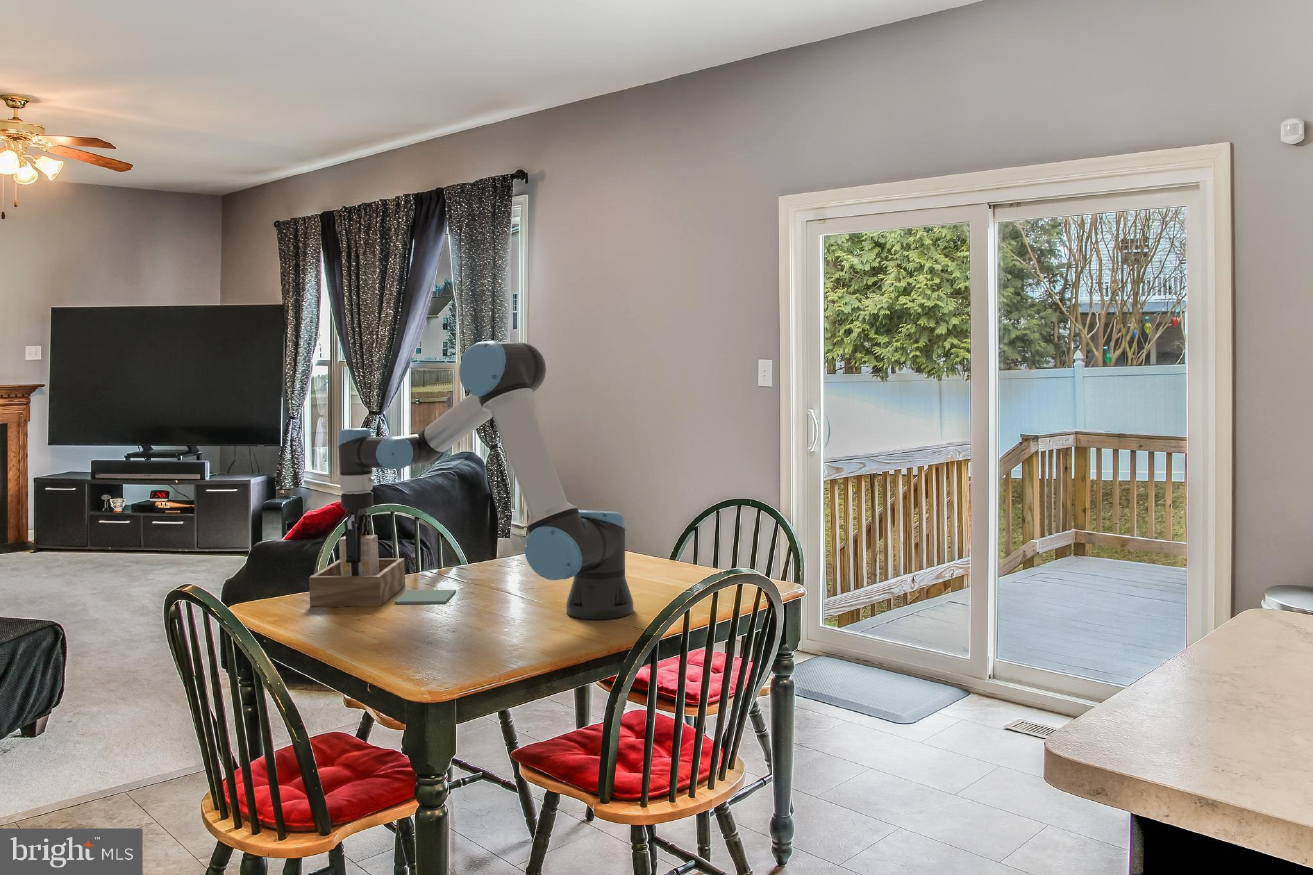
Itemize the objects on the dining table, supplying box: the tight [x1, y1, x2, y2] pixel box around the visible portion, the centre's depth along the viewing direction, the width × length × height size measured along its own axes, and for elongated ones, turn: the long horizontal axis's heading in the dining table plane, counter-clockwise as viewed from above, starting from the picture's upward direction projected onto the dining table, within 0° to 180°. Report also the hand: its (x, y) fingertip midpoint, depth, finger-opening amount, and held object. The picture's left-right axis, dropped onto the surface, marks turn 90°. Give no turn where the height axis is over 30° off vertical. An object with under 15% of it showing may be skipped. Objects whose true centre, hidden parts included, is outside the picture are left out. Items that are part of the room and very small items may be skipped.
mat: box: [394, 589, 457, 605], centre depth 234 cm, size 12×12×1 cm
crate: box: [308, 557, 406, 608], centre depth 237 cm, size 22×16×7 cm
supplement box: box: [338, 534, 380, 576], centre depth 237 cm, size 8×5×13 cm, turn 85°
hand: (360, 585), depth 237 cm, fingers closed on supplement box, 5 cm apart
